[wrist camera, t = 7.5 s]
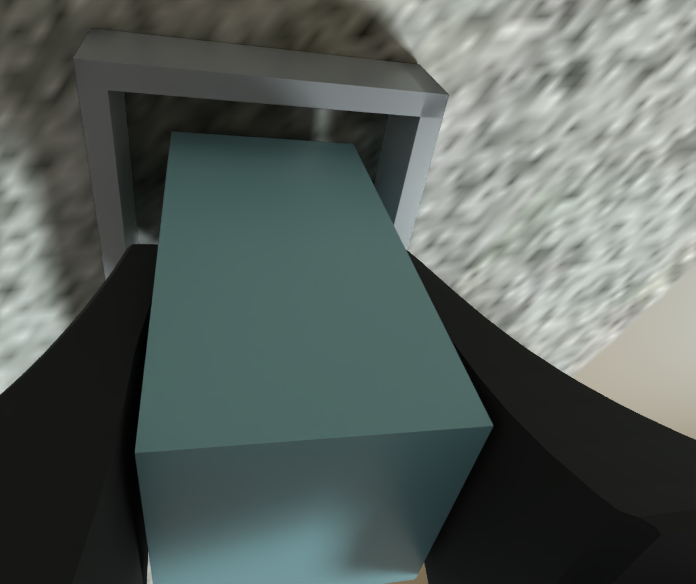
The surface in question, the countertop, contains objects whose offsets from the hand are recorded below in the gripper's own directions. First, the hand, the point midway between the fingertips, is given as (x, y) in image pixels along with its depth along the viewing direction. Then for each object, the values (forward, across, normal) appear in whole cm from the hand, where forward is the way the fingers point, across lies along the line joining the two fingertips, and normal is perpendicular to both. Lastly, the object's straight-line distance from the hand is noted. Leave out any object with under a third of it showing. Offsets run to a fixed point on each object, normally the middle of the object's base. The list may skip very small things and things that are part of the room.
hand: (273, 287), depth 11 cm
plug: (+3, 0, 0) cm, 3 cm away
